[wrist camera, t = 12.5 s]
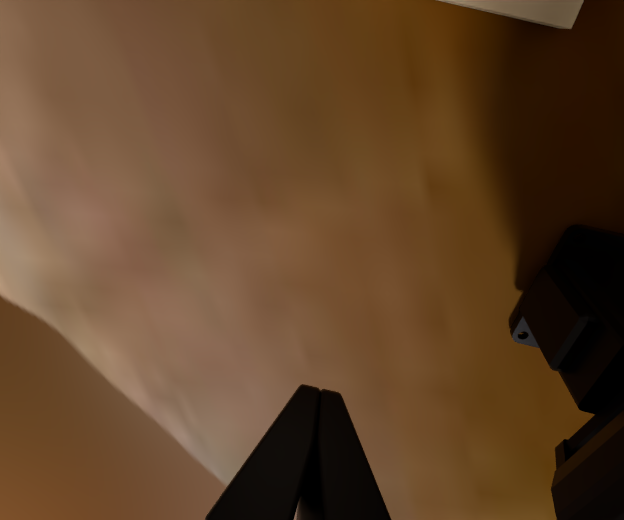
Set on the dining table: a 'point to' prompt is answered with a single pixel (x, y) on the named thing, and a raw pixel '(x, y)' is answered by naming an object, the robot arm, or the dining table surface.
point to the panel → (529, 10)
